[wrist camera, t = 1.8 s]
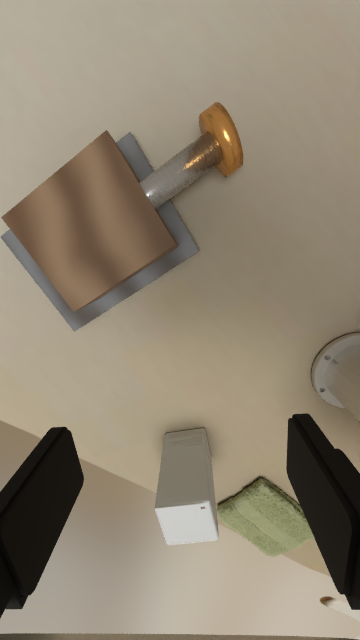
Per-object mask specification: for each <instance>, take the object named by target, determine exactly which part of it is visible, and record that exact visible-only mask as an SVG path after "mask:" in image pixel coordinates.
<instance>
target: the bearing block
mask: <svg viewBox="0 0 360 640" xmlns="http://www.w3.org/2000/svg"><path fill="white" fill-rule="evenodd" d="M151 173H153V170H152V168H151V167H150V165H149V163H148V161H147V160H146V158H145V156H144V154H143V153H142V151H141V149H140V148H139V146H138V144H137V142H136V141H135V139H134V137H133V136H132V134H131V132H129V133H128V134H127V135H126V136H124V137H123V138H122V139H121V140H119V141H118V142H117V143H115V141H114V140H113V138H112V137H111V135H110V134H109V133H108V131H107V130H106V131H105V132H104V133H102V134H101V135H100V136H99V137H98V138H96V139H95V140H94V141H93V142H92V143H90V144H89V145H88V146H87V147H86V148H84V149H83V150H82V151H81V152H80V153H78V154H77V155H76V156H75V157H74V158H72V159H71V160H70V161H69V162H68V163H66V164H65V165H64V166H63V167H62V168H60V169H59V170H58V171H57V172H55V173H54V174H53V175H52V176H51V177H49V178H48V179H47V180H46V181H45V182H43V183H42V184H41V185H40V186H39V187H37V188H36V189H35V190H34V191H33V192H31V193H30V194H29V195H28V196H27V197H25V198H24V199H23V200H22V201H21V202H19V203H18V204H17V205H16V206H15V207H13V208H12V209H11V210H10V211H9V212H7V213H6V214H5V215H4V216H3V217H1V218H2V219H3V220H4V222H5V223H6V224H7V226H8V227H9V228H10V229H9V230H8V231H7V232H6V233H5V234H3V235H2V236H1V238H2V240H3V241H4V242H5V243H6V245H7V246H8V247H9V249H10V250H11V251H12V252H13V254H14V255H15V256H16V258H17V259H18V260H19V261H20V263H21V264H22V265H23V266H24V268H25V269H26V270H27V272H28V273H29V274H30V275H31V277H32V278H33V279H34V281H35V282H36V283H37V284H38V286H39V287H40V288H41V289H42V291H43V292H44V293H45V295H46V296H47V297H48V298H49V300H50V301H51V302H52V304H53V305H54V306H55V307H56V309H57V310H58V311H59V312H60V314H61V315H62V316H63V318H64V319H65V320H66V321H67V323H68V324H69V325H70V327H71V328H72V329H73V330H74V332H75V331H76V330H78V329H79V328H81V327H82V326H84V325H85V324H87V323H89V322H90V321H92V320H93V319H95V318H96V317H98V316H99V315H101V314H102V313H104V312H106V311H107V310H109V309H110V308H112V307H113V306H115V305H116V304H118V303H119V302H121V301H123V300H124V299H126V298H127V297H129V296H130V295H132V294H133V293H135V292H137V291H138V290H140V289H141V288H143V287H144V286H146V285H147V284H149V283H150V282H152V281H154V280H155V279H157V278H158V277H160V276H161V275H163V274H164V273H166V272H167V271H169V270H171V269H172V268H174V267H175V266H177V265H178V264H180V263H181V262H183V261H185V260H186V259H188V258H189V257H191V256H192V255H194V254H195V253H197V252H198V251H199V249H198V247H197V246H196V244H195V242H194V240H193V239H192V237H191V235H190V234H189V232H188V230H187V228H186V227H185V225H184V223H183V222H182V220H181V218H180V216H179V215H178V213H177V211H176V210H175V208H174V206H173V204H172V203H171V201H170V199H169V200H168V201H166V202H165V203H163V204H162V205H161V206H159V207H158V208H156V209H154V207H153V206H152V204H151V202H150V201H149V199H148V197H147V196H146V194H145V192H144V191H143V189H142V187H141V186H140V184H139V183H140V182H141V181H142V180H144V179H145V178H146V177H148V176H149V175H150V174H151Z"/></svg>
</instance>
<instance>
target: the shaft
mask: <svg viewBox="0 0 360 640" xmlns="http://www.w3.org/2000/svg"><path fill="white" fill-rule="evenodd" d="M199 125H200V130H201V134H202V136H201V137H199V138H198V139H197V140H195V141H194V142H193V143H191V144H190V145H189V146H187V147H186V148H185V149H183V150H182V151H181V152H179V153H178V154H177V155H175V156H174V157H173V158H171V159H170V160H169V161H167V162H166V163H165V164H163V165H162V166H161V167H159V168H158V169H157V170H155V171H154V172H153V173H151V174H150V175H149V176H148V177H146V178H145V179H144V180H142V181H141V182H140V183H139V184H140V186H141V187H142V189H143V191H144V192H145V194H146V196H147V197H148V199H149V201H150V202H151V204H152V206H153V207H154V209H156V208H158V207H159V206H161V205H162V204H163V203H165V202H166V201H168V200H169V199H170V198H172V197H173V196H175V195H176V194H177V193H179V192H180V191H182V190H183V189H184V188H186V187H187V186H189V185H190V184H191V183H193V182H194V181H196V180H197V179H198V178H200V177H201V176H203V175H204V174H205V173H207V172H208V171H210V170H211V169H212V168H214V167H215V166H216V167H217V169H218V170H219V172H220V173H221V174H222V175H223V176H225V177H228V176H229V175H230V174H232V173H233V172H235V171H236V170H238V169H239V168H240V167H241V166H242V165H243V151H242V146H241V142H240V138H239V135H238V132H237V130H236V127H235V125H234V123H233V121H232V119H231V117H230V115H229V113H228V112H227V110H226V109H225V108H224V107H223V105H221V104H220V103H218V102H215V103H214V104H213V105H211V106H210V107H209V108H208V109H206V110H205V111H204V112H202V113H201V114H200V115H199Z"/></svg>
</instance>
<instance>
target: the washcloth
mask: <svg viewBox="0 0 360 640" xmlns="http://www.w3.org/2000/svg"><path fill="white" fill-rule="evenodd" d="M217 511H218V514H219V516H220V518H221V521H222V522H223V523H224V524H225V525H227V526H228V527H230V528H232V529H234V530H235V531H237V532H238V533H239V534H240V535H241V536H242V537H244V538H246V539H247V540H248V541H250V542H251V543H252V544H254V545H255V546H256V547H257V548H258V549H259V550H261V551H262V552H263V553H264V554H266V555H268V556H277V555H280V554H282V553H284V552H286V551H289V550H293V549H296V548H299V547H301V546H302V545H303V544H304V543H305V542H306V541H308V540H310V539H315V538H314V536H313V533H312V531H311V529H310V526H309V524H308V522H307V519H306V517H305V515H304V513H303V510H302V508H301V506H300V505H298V503H297V502H295V501H294V500H293V499H291V498H290V497H288V496H287V494H284V493H283V491H281V490H280V489H278V488H277V487H275V486H274V485H273V484H272V483H270V482H268V481H267V480H266V479H262V478H260V479H258V481H255V483H253V484H252V485H250V486H248V487H247V488H245V489H243V492H241V493H240V494H238V495H237V496H235V497H231V498H230V499H228V500H226V502H223V503H221V504H220V505H219V506H218V507H217Z"/></svg>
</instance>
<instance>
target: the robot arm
mask: <svg viewBox="0 0 360 640" xmlns="http://www.w3.org/2000/svg"><path fill="white" fill-rule="evenodd" d="M311 379H312V384H313V387H314V389H315V391H316V392H317V393H318V394H319V396H320V397H321V398H322V399H323V400H324V401H326V402H327V403H329V404H330V405H333V406H335V407H339V408H344V409H347V410H348V411H349V412H350V413H351V414H352V415H353V416H354V417H355V418H356V419H357V420H358V421H359V422H360V333H353V334H348V335H345V336H342V337H340V338H338V339H336V340H334V341H332V342H331V343H330V344H328V345H327V346H326V347H325V348H324V349H323V350H322V351H321V352H320V353H319V355H318V356H317V358H316V360H315V362H314V364H313V367H312V371H311ZM287 474H288V478H289V480H290V483H291V485H292V487H293V489H294V492H295V494H296V496H297V499H298V501H299V503H300V506H301V508H302V510H303V513H304V515H305V517H306V519H307V522H308V524H309V526H310V529H311V531H312V533H313V536H314V538H315V540H316V543H317V545H318V547H319V549H320V552H321V554H322V556H323V559H324V561H325V563H326V566H327V568H328V570H329V573H330V575H331V577H332V579H333V582H334V584H335V586H336V588H337V590H338V592H339V593H340V594H345V596H346V598H347V600H348V602H349V605H350V607H351V609H352V610H360V473H359V472H358V471H357V469H356V468H355V467H354V466H353V464H352V463H351V462H350V460H349V459H348V458H347V456H346V455H345V454H344V453H343V452H342V451H341V450H340V449H334V447H333V446H332V444H331V443H330V442H329V440H328V439H327V438H326V436H325V435H324V434H323V432H322V431H321V429H320V428H319V427H318V425H317V424H316V423H315V421H314V420H313V418H312V417H311V416H310V415H309V414H294V415H293V416H292V418H289V420H288V442H287ZM83 481H84V476H83V472H82V469H81V465H80V462H79V458H78V455H77V451H76V448H75V444H74V441H73V437H72V434H71V431H70V430H68V429H67V428H66V427H53V428H51V429H50V430H49V431H48V432H47V433H46V435H45V436H44V437H43V438H42V440H41V441H40V442H39V443H38V445H37V446H36V447H35V449H34V450H33V451H32V452H31V454H30V455H29V456H28V457H27V459H26V460H25V461H24V462H23V464H22V465H21V466H20V468H19V469H18V470H17V471H16V473H15V474H14V475H13V476H12V478H11V479H10V480H9V482H8V483H7V484H6V485H5V487H4V488H3V489H2V491H1V492H0V618H1V615H2V614H3V612H4V610H5V608H6V609H22V608H23V606H24V604H25V602H26V599H27V597H28V595H31V594H32V593H33V591H34V590H35V588H36V586H37V583H38V582H39V580H40V577H41V575H42V573H43V571H44V569H45V566H46V564H47V562H48V560H49V558H50V556H51V553H52V551H53V549H54V547H55V545H56V543H57V540H58V538H59V536H60V534H61V532H62V529H63V527H64V525H65V523H66V521H67V519H68V516H69V514H70V512H71V510H72V508H73V505H74V503H75V501H76V499H77V497H78V495H79V492H80V490H81V488H82V486H83ZM0 640H357V639H348V638H325V637H300V636H255V635H190V634H0Z"/></svg>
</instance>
